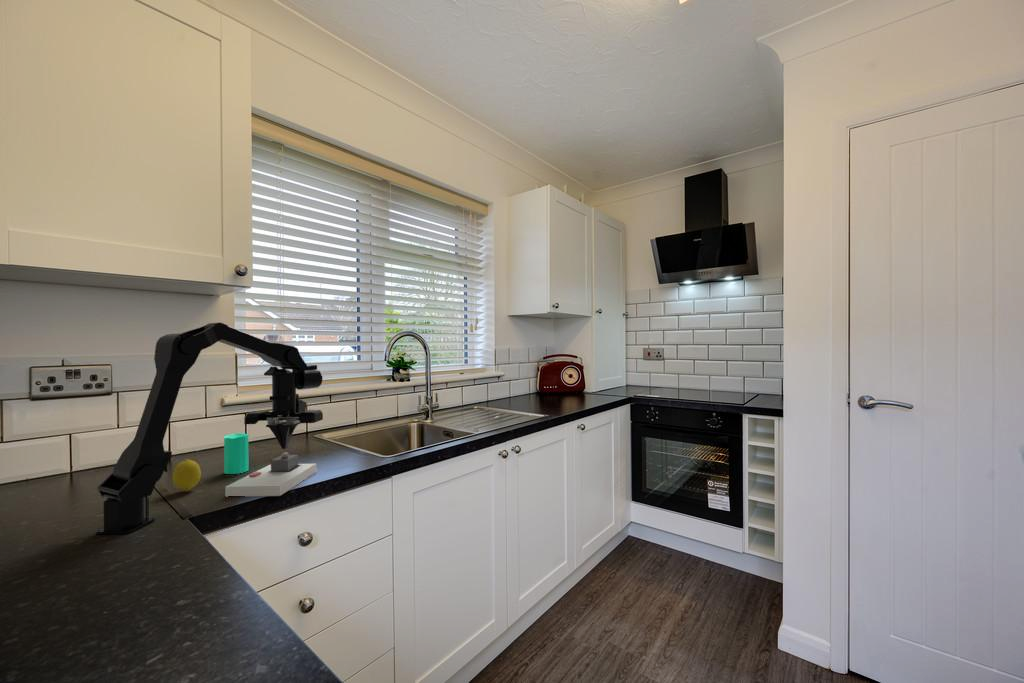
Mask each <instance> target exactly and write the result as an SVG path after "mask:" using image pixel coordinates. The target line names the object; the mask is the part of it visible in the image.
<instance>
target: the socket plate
mask: <svg viewBox="0 0 1024 683" xmlns="http://www.w3.org/2000/svg"><path fill="white" fill-rule="evenodd" d="M317 467H318V466H317V463H298V468H296V469H294V470H292V471H291V472H274V473H271V463H270V464H269V465H266V466H265V467H262V468H261V469H258V470H256V471H253V472H252V473H250V474H248V475H247V476H244V477H241V478H240V479H238V480H236V481H235V482H232V483H230V484H228V485H226V486H225V487H224V488H225V489H224V490H225V492H224V494H225V496H226V497H225V498H229V497H228V496H245V497H281V496H282V495H284V494H285V493H287V492H288V491H290V490H291V489H293V488H294V487H296V486H298V485H299V484H301V483H302V482H304V481H305V480H307V479H308V478H310V477H312V476H313V475H314V474H316V473H317ZM303 480H304V481H303ZM300 482H301V483H300ZM297 484H298V485H297Z"/></svg>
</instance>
